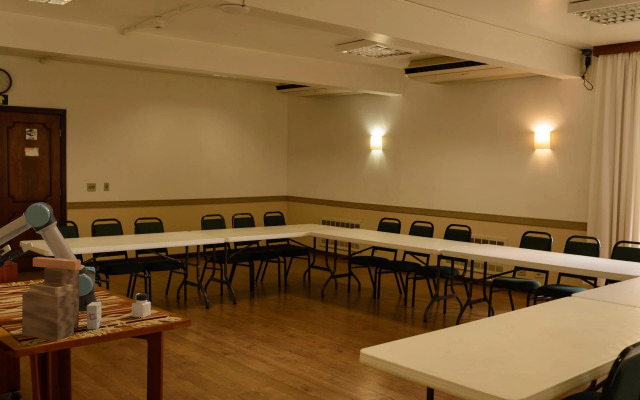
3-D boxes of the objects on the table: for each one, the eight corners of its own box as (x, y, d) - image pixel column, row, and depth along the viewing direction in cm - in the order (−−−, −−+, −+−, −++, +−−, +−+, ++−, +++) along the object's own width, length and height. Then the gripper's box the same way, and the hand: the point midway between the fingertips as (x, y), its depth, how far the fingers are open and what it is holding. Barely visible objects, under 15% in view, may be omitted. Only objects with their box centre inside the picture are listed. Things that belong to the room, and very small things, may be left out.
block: (38, 265, 301) (38, 256, 301) (80, 268, 294) (80, 260, 294) (32, 266, 297) (32, 258, 297) (75, 270, 291) (75, 261, 290)
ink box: (91, 324, 307) (91, 301, 306) (101, 324, 307) (102, 301, 306) (86, 329, 298) (86, 305, 297) (96, 329, 298) (97, 305, 298)
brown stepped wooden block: (58, 324, 306) (58, 264, 304) (91, 329, 298) (92, 268, 296) (22, 335, 285) (22, 271, 283) (57, 340, 278) (57, 275, 276)
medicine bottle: (150, 315, 330) (151, 293, 329) (142, 318, 323) (143, 295, 322) (139, 313, 332) (140, 291, 331) (131, 316, 325) (131, 294, 325)
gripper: (16, 267, 320) (43, 249, 313) (-27, 274, 297) (2, 255, 290) (10, 254, 321) (38, 236, 314) (-32, 260, 298) (-4, 241, 291)
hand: (21, 245), depth 302 cm, fingers open, 13 cm apart
